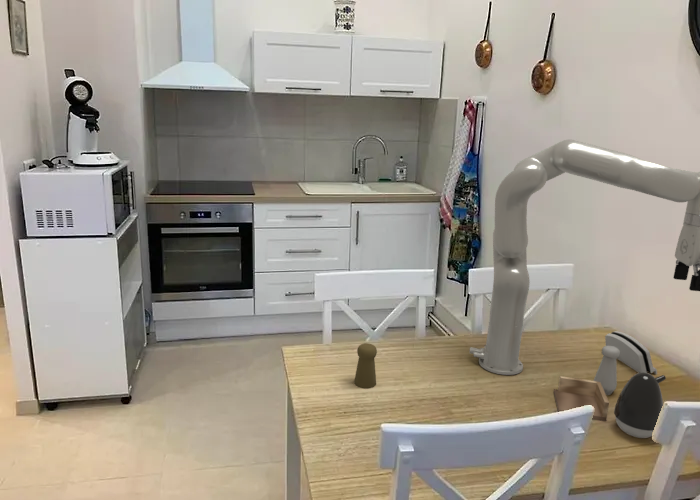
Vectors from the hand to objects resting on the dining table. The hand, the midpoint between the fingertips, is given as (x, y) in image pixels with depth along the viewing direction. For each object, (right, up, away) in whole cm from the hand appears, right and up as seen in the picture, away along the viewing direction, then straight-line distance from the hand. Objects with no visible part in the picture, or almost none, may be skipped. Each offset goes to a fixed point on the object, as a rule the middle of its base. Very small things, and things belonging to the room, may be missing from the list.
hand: (687, 284), depth 142 cm
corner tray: (-30, -31, -3) cm, 43 cm away
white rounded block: (-4, -26, +24) cm, 35 cm away
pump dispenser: (-21, -34, -13) cm, 42 cm away
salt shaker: (-20, -30, +5) cm, 36 cm away
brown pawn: (-85, -27, +4) cm, 89 cm away
